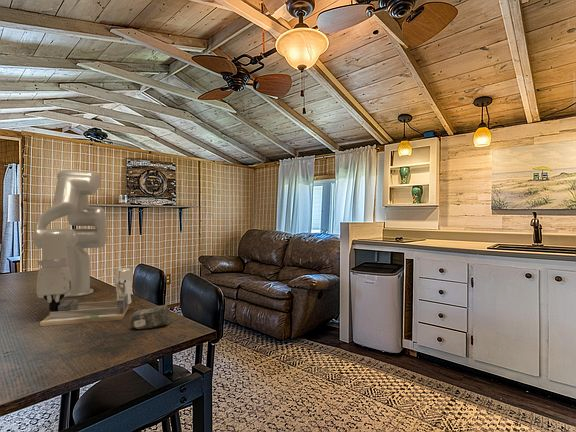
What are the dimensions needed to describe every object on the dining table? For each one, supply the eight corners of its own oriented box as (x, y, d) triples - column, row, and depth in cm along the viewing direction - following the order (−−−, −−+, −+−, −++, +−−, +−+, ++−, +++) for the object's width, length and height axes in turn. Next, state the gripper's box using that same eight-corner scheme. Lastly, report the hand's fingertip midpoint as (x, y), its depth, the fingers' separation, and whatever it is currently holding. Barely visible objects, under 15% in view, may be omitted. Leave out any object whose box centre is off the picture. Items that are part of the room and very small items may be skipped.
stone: (143, 344, 111) (128, 319, 109) (139, 341, 116) (124, 317, 115) (179, 319, 118) (165, 295, 117) (173, 317, 124) (160, 295, 123)
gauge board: (57, 312, 131) (57, 296, 131) (128, 307, 139) (128, 292, 138) (40, 326, 115) (40, 308, 115) (121, 319, 123) (121, 302, 123)
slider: (65, 310, 128) (65, 298, 128) (77, 309, 129) (77, 297, 129) (53, 320, 117) (53, 307, 117) (66, 319, 118) (66, 306, 118)
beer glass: (135, 303, 144) (135, 269, 144) (118, 306, 139) (118, 271, 139) (128, 300, 149) (128, 267, 149) (112, 303, 144) (112, 269, 144)
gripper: (26, 266, 117) (26, 317, 118) (74, 264, 122) (74, 313, 122) (35, 262, 125) (35, 310, 125) (80, 261, 129) (80, 307, 129)
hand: (54, 312), depth 124 cm, fingers closed
